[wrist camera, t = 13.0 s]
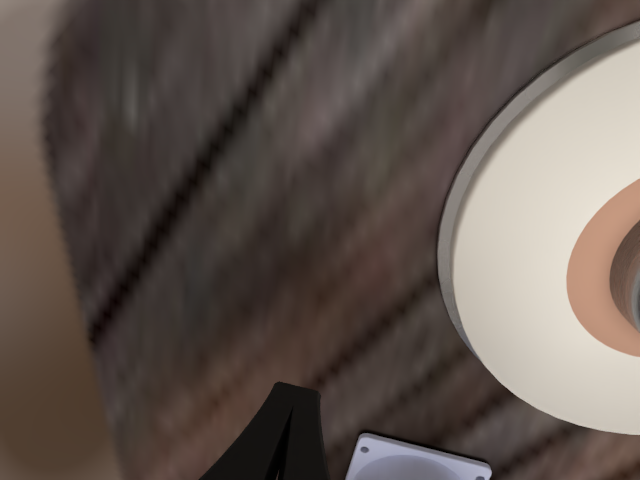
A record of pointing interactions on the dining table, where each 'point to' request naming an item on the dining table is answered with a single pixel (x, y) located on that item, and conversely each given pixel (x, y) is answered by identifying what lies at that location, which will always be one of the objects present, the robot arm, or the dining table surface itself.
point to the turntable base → (490, 136)
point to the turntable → (557, 247)
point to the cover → (627, 277)
